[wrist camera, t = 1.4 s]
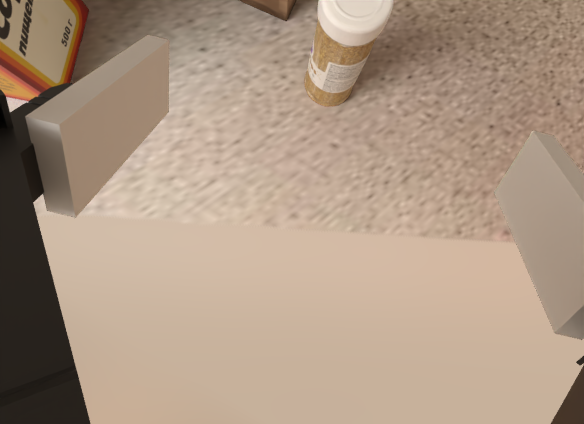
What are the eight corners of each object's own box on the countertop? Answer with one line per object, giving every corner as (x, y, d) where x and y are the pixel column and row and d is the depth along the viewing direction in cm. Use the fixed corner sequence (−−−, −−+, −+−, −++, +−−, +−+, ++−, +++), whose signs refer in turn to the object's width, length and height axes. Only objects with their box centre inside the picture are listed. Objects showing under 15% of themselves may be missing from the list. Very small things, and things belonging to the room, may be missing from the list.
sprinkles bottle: (303, 60, 38) (320, -42, 25) (352, 61, 38) (394, -40, 25) (303, 108, 38) (321, 30, 24) (353, 109, 38) (396, 31, 25)
